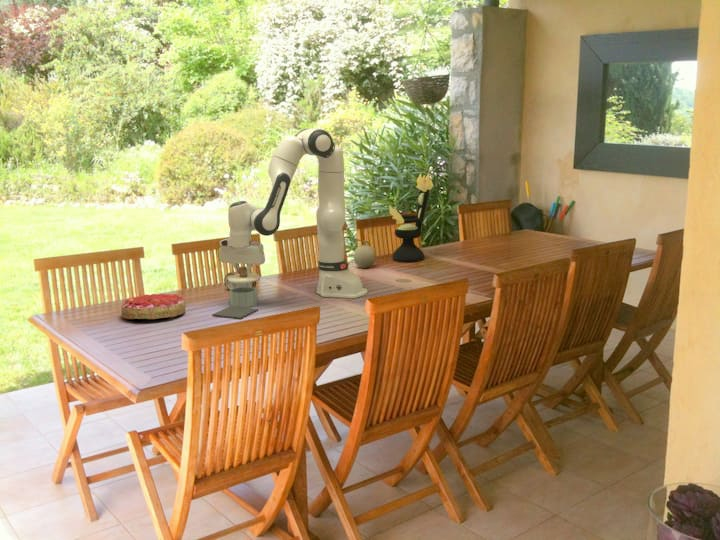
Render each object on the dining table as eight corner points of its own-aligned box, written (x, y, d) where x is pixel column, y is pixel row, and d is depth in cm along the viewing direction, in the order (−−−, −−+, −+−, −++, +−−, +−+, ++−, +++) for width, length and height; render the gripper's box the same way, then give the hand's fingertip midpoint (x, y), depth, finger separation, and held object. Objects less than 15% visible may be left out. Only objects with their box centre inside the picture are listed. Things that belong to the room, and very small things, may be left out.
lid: (265, 276, 325) (264, 264, 324) (248, 284, 314) (247, 271, 312) (239, 275, 330) (238, 263, 329) (221, 282, 319) (220, 269, 318)
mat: (258, 311, 313) (258, 309, 313) (240, 319, 301) (240, 317, 301) (230, 308, 318) (230, 306, 318) (212, 316, 307) (212, 314, 306)
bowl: (262, 301, 327) (261, 288, 325) (248, 308, 317) (247, 294, 316) (239, 299, 331) (239, 285, 330) (225, 305, 321) (224, 291, 320)
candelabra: (388, 256, 415) (387, 172, 405) (429, 254, 418) (429, 170, 408) (393, 263, 397) (393, 175, 387) (436, 261, 399) (436, 174, 389)
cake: (152, 324, 293) (151, 304, 292) (107, 319, 306) (106, 299, 305) (198, 313, 314) (197, 293, 312) (154, 308, 327) (153, 289, 326)
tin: (257, 291, 346) (256, 272, 344) (253, 292, 343) (253, 274, 341) (227, 289, 351) (226, 270, 349) (223, 290, 348) (222, 272, 346)
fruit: (379, 266, 391) (379, 237, 388) (367, 270, 382) (367, 240, 379) (362, 264, 397) (361, 235, 394) (350, 268, 387) (349, 239, 384)
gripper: (266, 240, 317) (269, 273, 320) (224, 238, 325) (227, 271, 328) (258, 243, 311) (261, 277, 314) (216, 241, 320) (218, 274, 323)
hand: (243, 274), depth 322 cm, fingers closed on lid, 3 cm apart
